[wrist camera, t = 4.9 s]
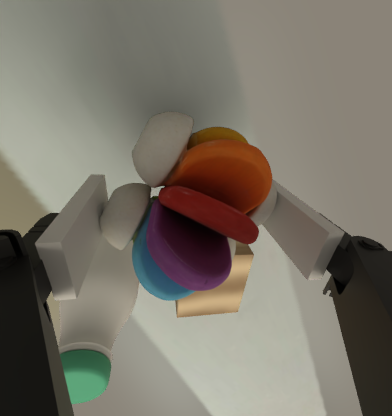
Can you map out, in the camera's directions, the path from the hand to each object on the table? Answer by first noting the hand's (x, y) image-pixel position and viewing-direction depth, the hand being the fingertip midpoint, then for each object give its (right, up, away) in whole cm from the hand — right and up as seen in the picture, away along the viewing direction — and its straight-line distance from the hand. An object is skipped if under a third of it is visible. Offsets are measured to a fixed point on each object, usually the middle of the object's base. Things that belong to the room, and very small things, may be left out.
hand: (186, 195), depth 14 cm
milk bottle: (-12, -5, +19) cm, 23 cm away
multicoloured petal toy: (0, 0, 0) cm, 1 cm away
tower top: (+2, -11, +20) cm, 23 cm away
